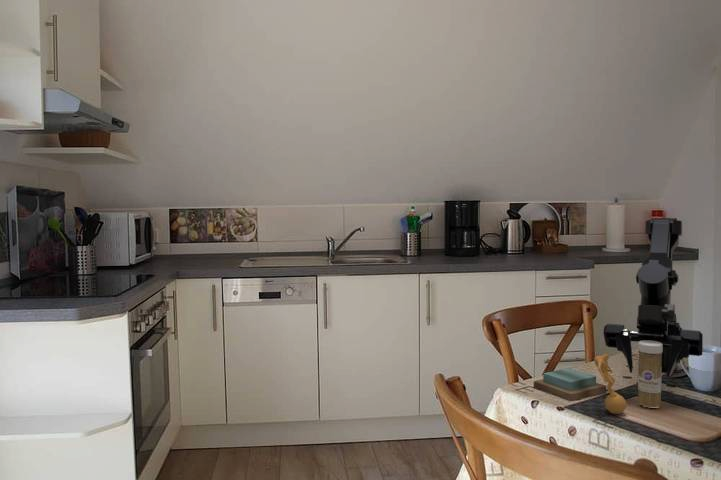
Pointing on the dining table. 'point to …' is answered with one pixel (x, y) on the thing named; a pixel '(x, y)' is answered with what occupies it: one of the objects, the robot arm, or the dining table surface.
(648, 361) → the sprinkles bottle
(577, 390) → the tower base
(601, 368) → the figurine
